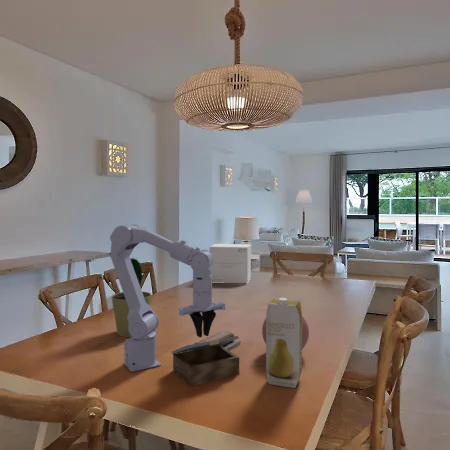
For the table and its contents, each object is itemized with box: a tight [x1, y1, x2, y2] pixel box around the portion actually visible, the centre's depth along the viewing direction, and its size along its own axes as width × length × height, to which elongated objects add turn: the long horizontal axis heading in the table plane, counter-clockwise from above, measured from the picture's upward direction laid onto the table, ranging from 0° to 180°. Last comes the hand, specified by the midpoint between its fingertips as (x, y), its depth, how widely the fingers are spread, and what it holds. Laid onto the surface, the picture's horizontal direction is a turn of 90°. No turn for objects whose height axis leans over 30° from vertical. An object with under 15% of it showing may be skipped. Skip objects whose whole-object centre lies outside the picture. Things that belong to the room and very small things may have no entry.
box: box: [172, 345, 240, 387], centre depth 118 cm, size 16×12×5 cm
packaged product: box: [191, 330, 241, 352], centre depth 138 cm, size 18×5×10 cm
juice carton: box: [265, 297, 303, 389], centre depth 111 cm, size 9×8×24 cm
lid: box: [171, 335, 240, 355], centre depth 118 cm, size 17×13×1 cm
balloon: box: [261, 315, 310, 350], centre depth 130 cm, size 15×20×15 cm
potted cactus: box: [111, 257, 152, 338], centre depth 156 cm, size 15×15×30 cm
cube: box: [208, 243, 252, 285], centre depth 267 cm, size 25×21×24 cm
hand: (202, 335), depth 119 cm, fingers closed
